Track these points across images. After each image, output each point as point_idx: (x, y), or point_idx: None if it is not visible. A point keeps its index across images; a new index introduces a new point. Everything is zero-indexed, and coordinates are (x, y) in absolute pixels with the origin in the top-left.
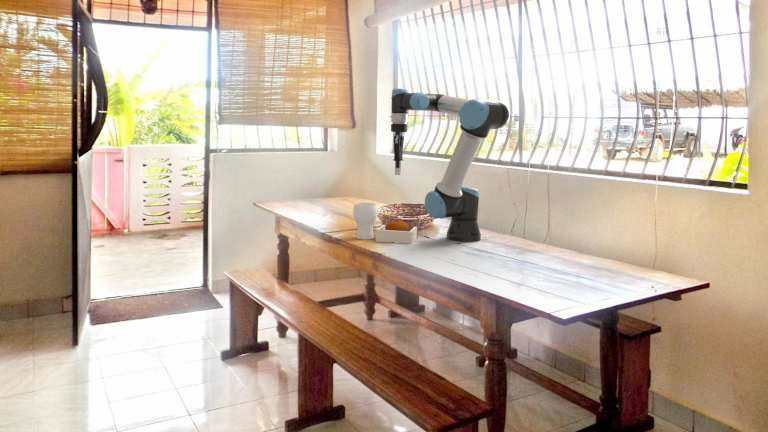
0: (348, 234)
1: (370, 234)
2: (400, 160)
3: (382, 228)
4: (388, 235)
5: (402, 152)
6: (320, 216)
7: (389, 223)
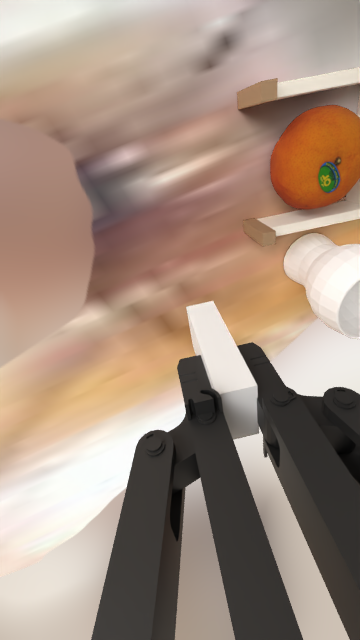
0: (270, 315)
1: (330, 240)
2: (265, 392)
3: (319, 216)
4: None
5: (135, 537)
6: (67, 469)
7: (350, 187)
